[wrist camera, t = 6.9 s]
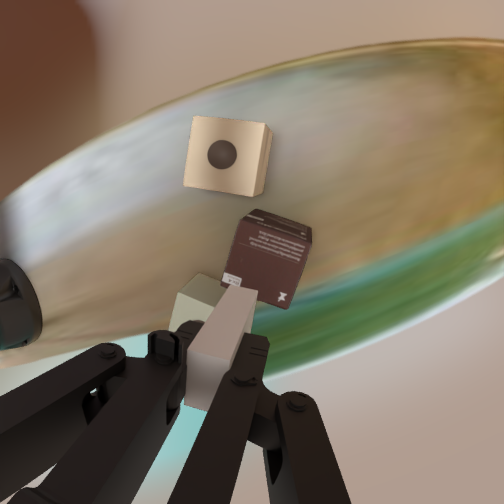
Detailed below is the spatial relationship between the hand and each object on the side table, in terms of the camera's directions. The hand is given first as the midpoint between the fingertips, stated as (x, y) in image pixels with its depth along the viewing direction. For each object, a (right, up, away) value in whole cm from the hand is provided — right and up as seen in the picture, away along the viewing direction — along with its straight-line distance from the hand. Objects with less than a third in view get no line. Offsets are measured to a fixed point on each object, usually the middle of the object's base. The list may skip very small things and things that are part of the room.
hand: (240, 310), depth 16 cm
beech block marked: (-1, +12, +14) cm, 18 cm away
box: (+3, +4, +15) cm, 16 cm away
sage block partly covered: (-3, -3, +18) cm, 18 cm away
